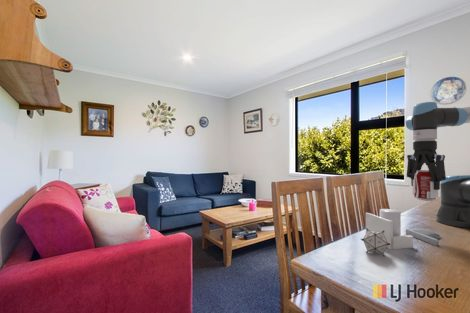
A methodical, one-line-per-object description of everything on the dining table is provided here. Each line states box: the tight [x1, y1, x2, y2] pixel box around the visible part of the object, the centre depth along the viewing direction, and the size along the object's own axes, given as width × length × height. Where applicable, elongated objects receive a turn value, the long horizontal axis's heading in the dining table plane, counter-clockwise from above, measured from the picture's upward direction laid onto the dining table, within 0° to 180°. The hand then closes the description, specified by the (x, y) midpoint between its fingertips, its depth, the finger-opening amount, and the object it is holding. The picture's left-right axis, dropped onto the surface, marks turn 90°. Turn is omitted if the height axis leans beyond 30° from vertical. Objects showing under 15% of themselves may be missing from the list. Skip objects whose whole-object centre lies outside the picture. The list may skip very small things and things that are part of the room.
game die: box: [360, 227, 390, 257], centre depth 75 cm, size 9×8×10 cm
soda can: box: [413, 169, 437, 202], centre depth 91 cm, size 7×7×12 cm
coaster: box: [411, 229, 441, 240], centre depth 91 cm, size 9×9×1 cm
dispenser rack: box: [365, 208, 439, 250], centre depth 86 cm, size 20×12×12 cm, turn 99°
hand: (424, 195), depth 91 cm, fingers closed on soda can, 7 cm apart
